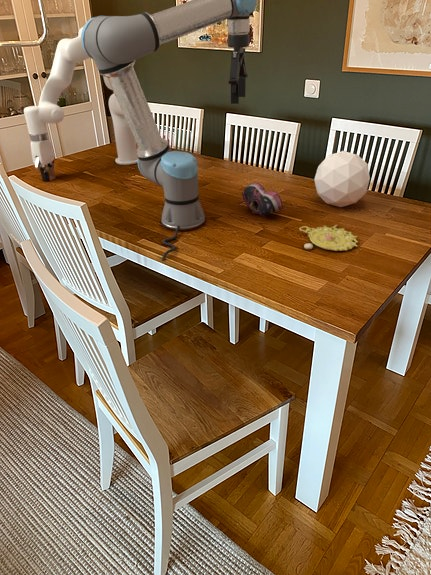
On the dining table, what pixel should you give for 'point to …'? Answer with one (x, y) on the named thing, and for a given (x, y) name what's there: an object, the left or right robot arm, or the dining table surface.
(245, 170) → the dining table surface
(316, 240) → the decorative object
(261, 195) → the athletic shoe
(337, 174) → the sphere
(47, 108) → the left robot arm
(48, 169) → the block
